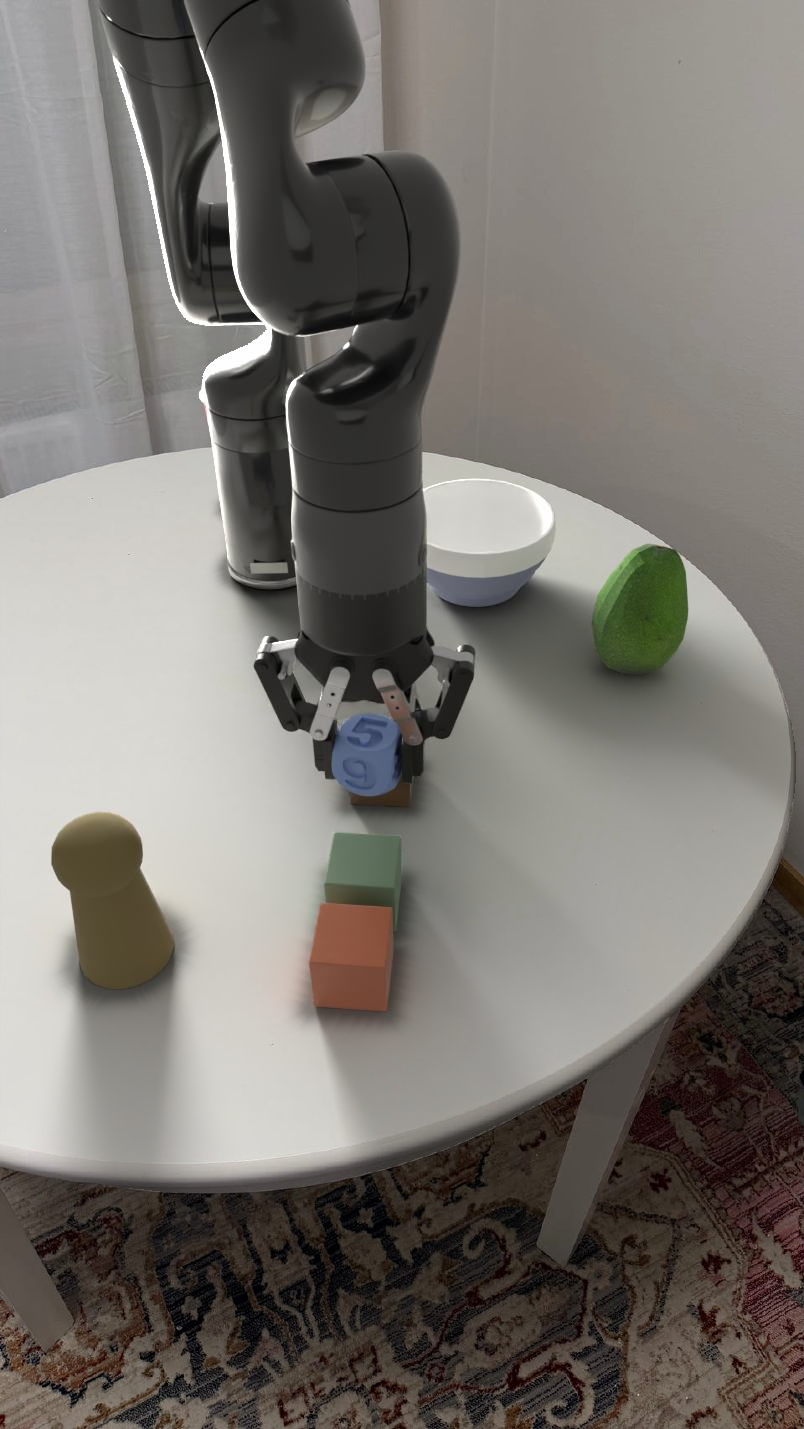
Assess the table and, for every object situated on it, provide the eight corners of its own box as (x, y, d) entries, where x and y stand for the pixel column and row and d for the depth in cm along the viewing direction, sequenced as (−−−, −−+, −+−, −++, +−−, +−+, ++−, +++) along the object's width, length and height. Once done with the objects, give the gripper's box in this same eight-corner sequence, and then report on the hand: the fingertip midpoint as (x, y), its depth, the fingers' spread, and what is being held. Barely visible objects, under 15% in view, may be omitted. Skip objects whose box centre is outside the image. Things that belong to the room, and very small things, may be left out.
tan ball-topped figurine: (87, 916, 67) (47, 799, 60) (178, 909, 68) (149, 792, 61) (72, 993, 63) (27, 877, 56) (169, 985, 63) (138, 869, 56)
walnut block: (357, 763, 78) (355, 719, 76) (415, 766, 78) (414, 722, 75) (350, 804, 75) (347, 760, 72) (410, 807, 75) (409, 763, 72)
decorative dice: (406, 762, 69) (406, 717, 66) (390, 802, 66) (389, 757, 64) (351, 752, 70) (348, 707, 67) (332, 791, 67) (329, 746, 64)
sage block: (337, 876, 70) (333, 831, 67) (402, 879, 69) (401, 835, 66) (328, 928, 66) (323, 883, 63) (395, 932, 66) (394, 887, 63)
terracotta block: (324, 946, 65) (320, 902, 62) (393, 951, 65) (392, 906, 62) (313, 1006, 62) (308, 962, 59) (386, 1012, 61) (385, 967, 58)
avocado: (692, 686, 85) (719, 565, 77) (604, 699, 84) (623, 577, 76) (655, 633, 91) (676, 515, 83) (572, 644, 90) (587, 526, 82)
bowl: (539, 543, 103) (545, 475, 99) (560, 624, 92) (568, 553, 87) (398, 547, 103) (397, 479, 98) (402, 629, 92) (401, 557, 87)
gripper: (489, 525, 59) (478, 742, 70) (250, 516, 60) (276, 731, 71) (485, 595, 53) (474, 819, 64) (221, 585, 55) (254, 806, 66)
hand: (370, 772), depth 68 cm, fingers closed on decorative dice, 4 cm apart
